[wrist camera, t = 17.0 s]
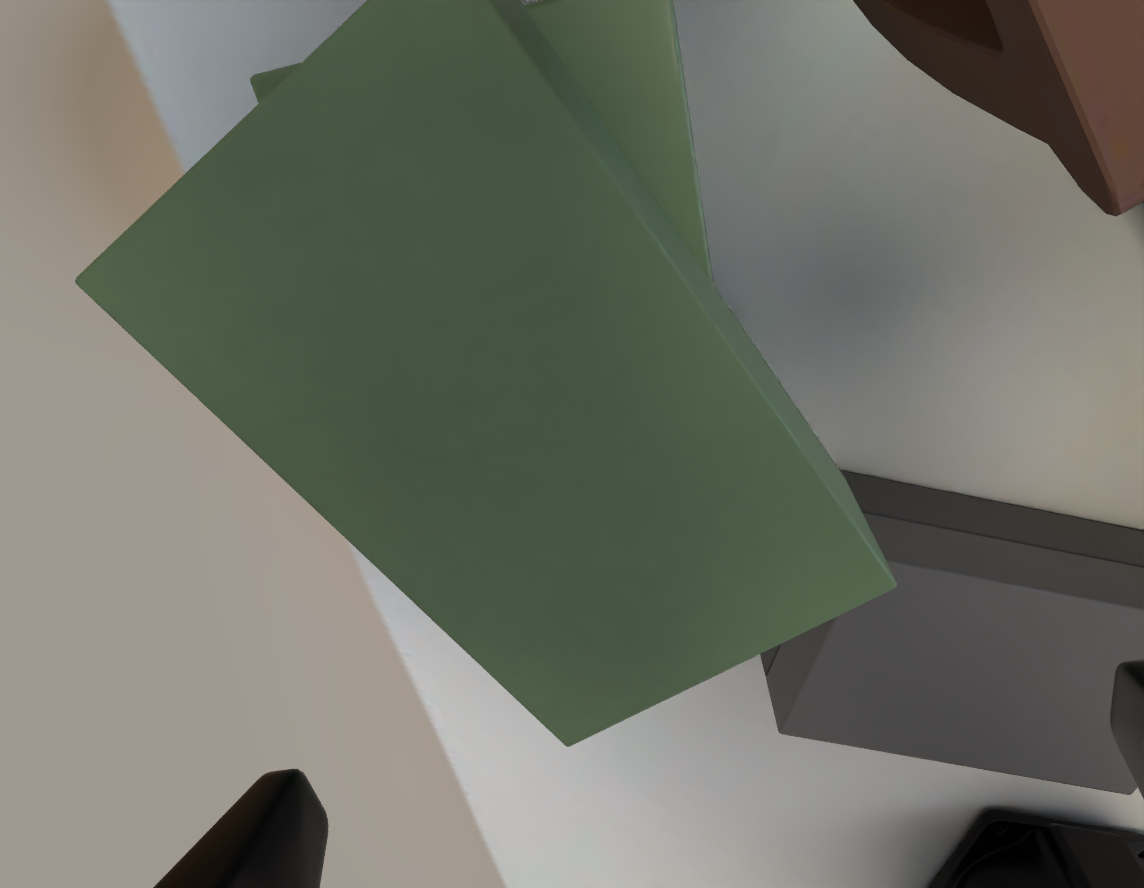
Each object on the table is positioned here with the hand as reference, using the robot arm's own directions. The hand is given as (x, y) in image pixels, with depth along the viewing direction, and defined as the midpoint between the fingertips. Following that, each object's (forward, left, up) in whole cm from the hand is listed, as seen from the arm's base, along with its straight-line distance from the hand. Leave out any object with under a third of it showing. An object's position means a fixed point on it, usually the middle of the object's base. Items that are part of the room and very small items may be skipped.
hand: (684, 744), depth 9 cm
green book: (+2, +2, -6) cm, 7 cm away
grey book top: (-6, -11, -11) cm, 16 cm away
